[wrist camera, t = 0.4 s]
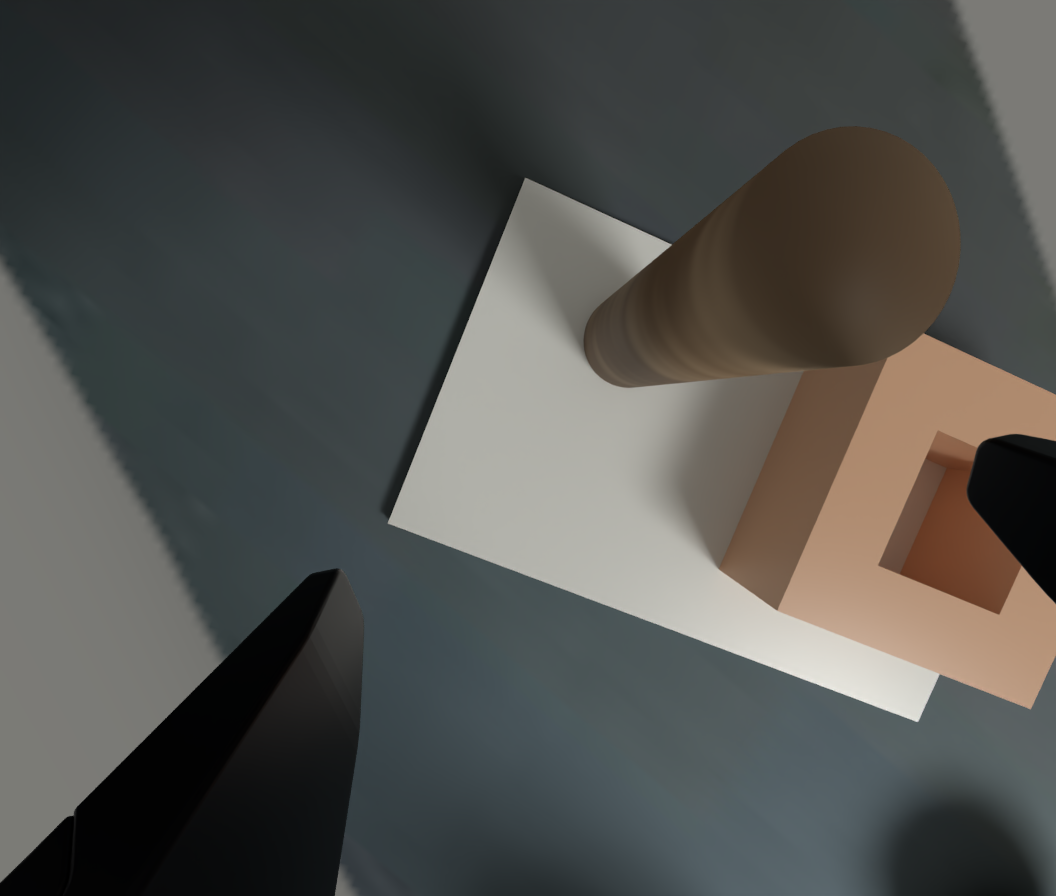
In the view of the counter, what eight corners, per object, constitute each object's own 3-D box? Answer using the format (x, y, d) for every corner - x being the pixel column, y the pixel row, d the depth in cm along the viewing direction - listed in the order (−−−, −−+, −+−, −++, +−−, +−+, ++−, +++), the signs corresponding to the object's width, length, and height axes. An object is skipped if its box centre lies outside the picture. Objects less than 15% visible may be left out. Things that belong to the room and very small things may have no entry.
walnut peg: (653, 401, 22) (902, 401, 9) (569, 366, 21) (701, 311, 8) (689, 315, 22) (996, 187, 9) (604, 278, 21) (796, 85, 8)
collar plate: (908, 715, 24) (1018, 796, 19) (389, 520, 22) (362, 555, 17) (1042, 419, 24) (1191, 424, 19) (524, 183, 21) (537, 115, 16)
